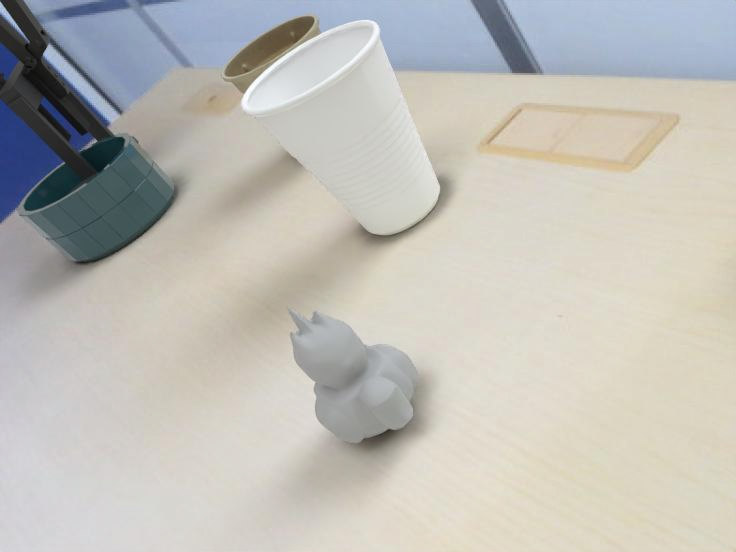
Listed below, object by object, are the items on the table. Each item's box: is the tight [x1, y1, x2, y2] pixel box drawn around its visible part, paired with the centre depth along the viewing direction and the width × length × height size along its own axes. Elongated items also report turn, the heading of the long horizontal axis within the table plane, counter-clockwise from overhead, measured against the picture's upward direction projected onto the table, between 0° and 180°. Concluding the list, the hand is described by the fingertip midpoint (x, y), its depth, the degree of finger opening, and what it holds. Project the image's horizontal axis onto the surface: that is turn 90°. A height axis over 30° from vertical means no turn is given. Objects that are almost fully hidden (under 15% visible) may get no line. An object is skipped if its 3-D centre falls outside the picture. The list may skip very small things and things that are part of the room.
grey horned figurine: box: [285, 305, 420, 444], centre depth 37 cm, size 5×7×8 cm
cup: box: [240, 19, 441, 236], centre depth 50 cm, size 10×10×11 cm
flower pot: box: [220, 13, 323, 95], centre depth 65 cm, size 9×9×9 cm
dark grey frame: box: [0, 58, 140, 195], centre depth 75 cm, size 20×5×12 cm, turn 24°
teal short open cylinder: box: [16, 132, 175, 263], centre depth 73 cm, size 12×12×6 cm
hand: (76, 135), depth 77 cm, fingers closed on dark grey frame, 2 cm apart
